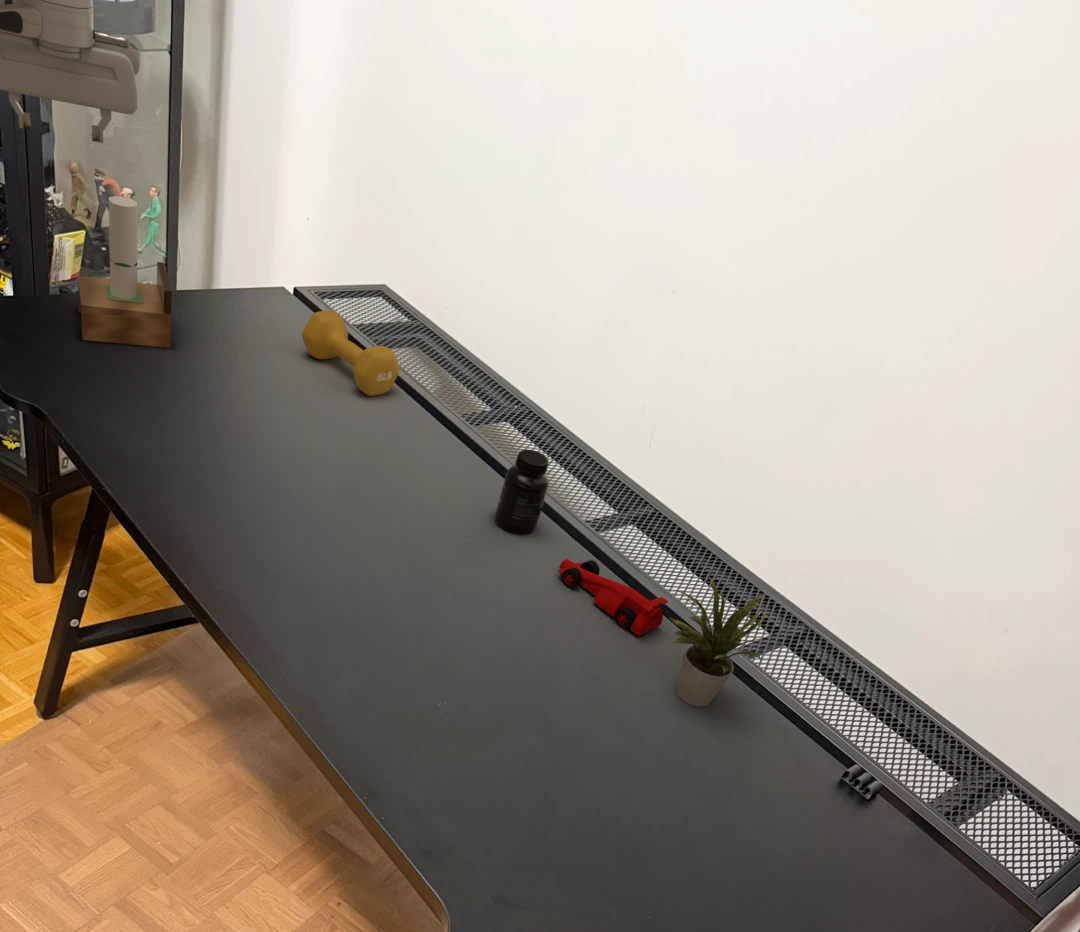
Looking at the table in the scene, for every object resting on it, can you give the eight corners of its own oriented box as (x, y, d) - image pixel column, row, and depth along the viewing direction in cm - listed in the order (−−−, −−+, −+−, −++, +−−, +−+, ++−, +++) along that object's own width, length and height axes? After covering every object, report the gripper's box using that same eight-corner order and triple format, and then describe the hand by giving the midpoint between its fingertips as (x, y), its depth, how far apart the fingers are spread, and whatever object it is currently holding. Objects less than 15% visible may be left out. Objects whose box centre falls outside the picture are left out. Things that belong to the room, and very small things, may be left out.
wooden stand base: (82, 340, 171) (80, 280, 164) (78, 309, 178) (76, 251, 172) (170, 348, 176) (171, 291, 170) (163, 318, 184) (164, 262, 178)
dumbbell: (399, 394, 186) (407, 351, 181) (361, 401, 180) (368, 357, 175) (334, 348, 194) (339, 305, 188) (295, 353, 188) (300, 310, 182)
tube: (104, 290, 172) (102, 197, 163) (125, 286, 175) (125, 195, 166) (122, 300, 171) (121, 207, 162) (142, 297, 174) (143, 205, 165)
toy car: (574, 564, 159) (583, 537, 155) (660, 627, 152) (671, 600, 149) (549, 574, 155) (558, 547, 151) (636, 639, 148) (647, 612, 145)
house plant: (679, 644, 150) (719, 552, 139) (757, 695, 145) (805, 604, 135) (628, 681, 140) (668, 585, 129) (711, 737, 136) (759, 642, 125)
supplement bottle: (494, 508, 165) (511, 442, 157) (534, 517, 166) (554, 451, 159) (494, 530, 160) (512, 463, 152) (536, 539, 161) (556, 473, 153)
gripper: (138, 35, 143) (137, 141, 152) (-27, -2, 135) (-18, 113, 143) (142, 46, 139) (141, 155, 148) (-28, 9, 131) (-19, 127, 139)
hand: (61, 134), depth 146 cm, fingers open, 8 cm apart
